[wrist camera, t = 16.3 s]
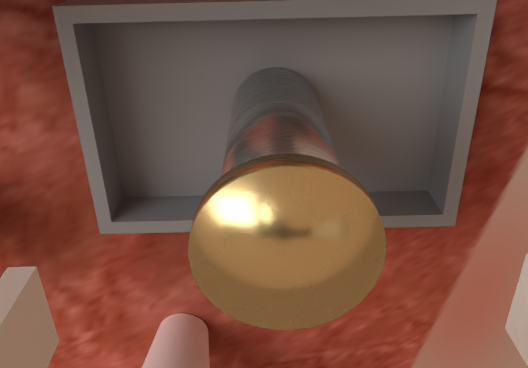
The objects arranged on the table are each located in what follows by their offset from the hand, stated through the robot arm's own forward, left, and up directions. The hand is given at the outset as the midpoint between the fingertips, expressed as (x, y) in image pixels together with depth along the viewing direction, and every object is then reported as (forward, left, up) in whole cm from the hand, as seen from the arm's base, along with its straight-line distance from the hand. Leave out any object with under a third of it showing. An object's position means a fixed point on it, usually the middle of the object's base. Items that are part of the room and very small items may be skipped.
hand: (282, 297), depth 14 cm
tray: (0, 0, -17) cm, 17 cm away
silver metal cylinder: (0, 0, -16) cm, 16 cm away
